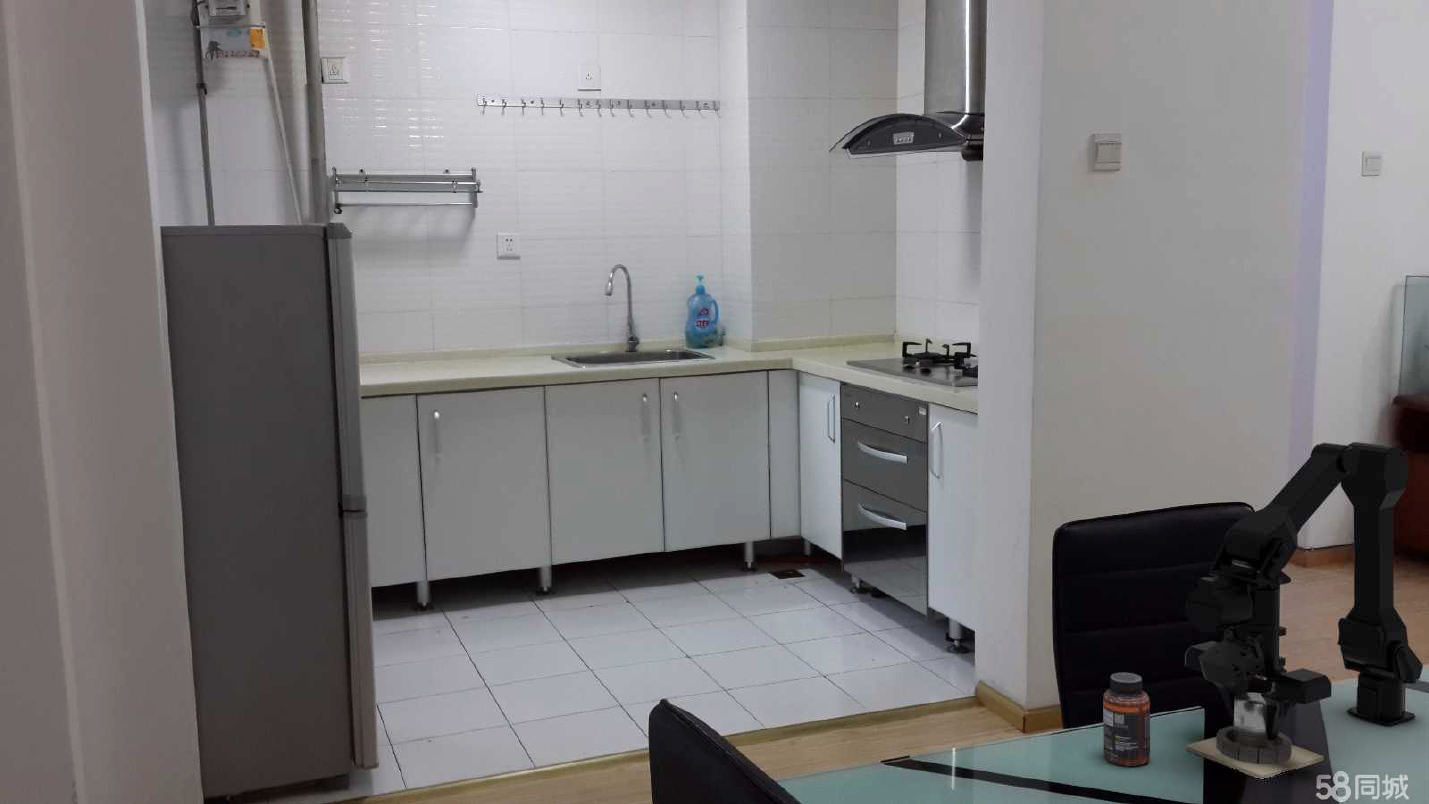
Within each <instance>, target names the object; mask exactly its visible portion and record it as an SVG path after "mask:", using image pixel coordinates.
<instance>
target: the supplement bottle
mask: <svg viewBox="0 0 1429 804" xmlns="http://www.w3.org/2000/svg"><path fill="white" fill-rule="evenodd" d="M1109 686H1110V688H1109V689H1107V690H1106V691H1105V692H1104V694H1103V699H1102V701H1103V702H1102V703H1103V704H1102V707H1103V708H1102V709H1103V710H1102V711H1103V712H1102V719H1103V721H1102V722H1103V725H1102V727H1103V729H1102V730H1103V755H1104V758H1105V759H1106V760H1108V761H1109V762H1110V763H1112V764H1116V765H1120V766H1125V767H1136V766H1142V765H1145V764H1147V763H1148V762H1149V760H1150V758H1151V709H1150V708H1151V701H1150V697H1149V695H1148V694H1147V692H1145V691H1144V690H1143V689H1142V688H1143V679H1142V676H1141V675H1139V674H1137V673H1132V672H1116V673H1112V674H1111V675H1110V684H1109Z"/></svg>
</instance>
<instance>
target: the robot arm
mask: <svg viewBox="0 0 1429 804" xmlns="http://www.w3.org/2000/svg"><path fill="white" fill-rule="evenodd" d="M1408 458H1409V457H1408V456H1407V454H1406V453H1405V452H1404V451H1403V450H1402V449H1401V448H1400V447H1398V446H1392V445H1385V444H1375V443H1367V442H1358V441H1353V442H1351V443H1349V444H1348V445H1346V444H1338V443H1330V442H1322V443H1321V442H1320V443H1318V444H1316V445H1314V446H1313V448H1312V450H1311V453H1310V457H1309V458H1308V459H1307V460H1306V461H1305V463H1303V464H1302V465H1301V467H1300V468H1299V469H1298V470H1297V472H1296V473H1295V474H1294V475H1293V476H1292V477H1291V479H1290V480H1289V481H1288V482H1287V483H1286V484H1285V485H1284V486H1283V487H1282V488H1281V489H1280V491H1279V492H1278V493H1277V494H1276V495H1275V497H1274V498H1273V499H1272V500H1271V501H1270V502H1269V503H1268V504H1267V505H1266V506H1264V507H1262V508H1260V509H1258V510H1254V511H1253V512H1249V513H1247V514H1245V515H1244V516H1243V517H1241V519H1239V520H1238V521H1237V522H1236V523H1234V524H1233V525H1232V526H1230V528H1229V529H1228V531H1227V533H1226V534H1225V536H1224V539H1223V541H1222V543H1221V546H1220V547H1219V550H1218V552H1217V553H1216V555H1215V558H1214V560H1213V561H1212V563H1211V565H1210V567H1209V570H1208V574H1209V575H1210V576H1212V577H1206V576H1205V577H1200V578H1199V579H1198V581H1197V582H1198V584H1197V586H1198V587H1196V588H1194V589H1192V590H1191V591H1190V592H1189V593H1188V595H1187V598H1186V600H1185V601H1184V610H1185V615H1186V617H1187V619H1188V621H1189V622H1190V624H1191V625H1192V626H1193V627H1194V628H1195V629H1196V630H1198V631H1199V632H1202V633H1211V632H1216V631H1220V630H1224V631H1223V632H1224V633H1223V634H1224V635H1223V640H1222V641H1220V642H1217V641H1213V640H1211V641H1207V642H1203V643H1198V644H1195V645H1191V646H1189V647H1188V649H1187V650H1186V652H1185V654H1184V666H1185V668H1188V669H1191V670H1194V671H1198V672H1202V674H1203V678H1204V680H1206V681H1207V682H1212V684H1213V685H1215V686H1216V687H1217V688H1218V691H1220V694H1221V697H1222V698H1223V701H1224V703H1225V707H1226V709H1227V712H1228V716H1229V718H1230V721H1231V723H1232V726H1233V727H1234V696H1235V695H1236V694H1239V693H1247V692H1248V688H1249V687H1248V686H1249V681H1251V680H1253V679H1257V680H1259V681H1262V682H1265V683H1266V682H1267V683H1268V684H1271V690H1270V691H1267V692H1265V693H1260V694H1261V696H1262V698H1263V699H1264V700H1265V702H1266V703H1267V737H1268V740H1270V741H1272V740H1275V739H1276V737H1277V736H1278V734H1279V732H1280V733H1281V730H1282V728H1283V726H1284V724H1285V723H1286V721H1287V719H1288V717H1289V715H1290V714H1291V712H1292V710H1293V709H1294V707H1296V705H1298V704H1299V705H1308V704H1311V703H1314V702H1317V701H1322V700H1324V699H1329V698H1332V682H1331V679H1329V677H1328V675H1326V674H1323V673H1320V672H1316V671H1313V670H1310V669H1307V668H1299V669H1298V668H1297V669H1295V670H1291V671H1287V672H1286V671H1283V670H1280V669H1279V668H1280V667H1285V666H1286V662H1287V661H1286V660H1287V659H1286V657H1284V656H1280V637H1284V636H1287V627H1286V626H1281V625H1280V622H1281V618H1280V617H1281V586H1282V585H1287V584H1291V582H1292V578H1291V576H1289V575H1288V574H1286V573H1285V572H1284V571H1283V569H1284V568H1285V567H1287V565H1288V563H1289V562H1290V561H1291V559H1292V557H1293V555H1294V554H1295V552H1296V551H1297V549H1298V544H1299V542H1298V541H1299V540H1298V536H1299V535H1298V534H1299V532H1300V531H1301V529H1302V528H1303V527H1304V526H1305V524H1306V523H1307V522H1308V521H1309V519H1310V518H1311V517H1312V516H1313V515H1314V513H1316V511H1317V510H1318V509H1319V508H1320V507H1321V505H1322V504H1323V503H1324V502H1325V501H1326V500H1327V498H1328V497H1329V496H1330V495H1331V494H1332V492H1333V491H1334V490H1335V489H1336V488H1337V487H1339V484H1340V487H1341V489H1342V491H1343V493H1344V494H1345V496H1346V497H1347V499H1348V500H1349V502H1350V504H1351V505H1352V508H1353V511H1352V512H1353V515H1352V517H1353V601H1354V602H1353V606H1352V608H1350V609H1351V610H1349V612H1348V613H1347V614H1346V616H1345V617H1340V618H1339V619H1338V622H1337V625H1338V628H1337V629H1338V639H1337V643H1336V644H1337V646H1339V650H1340V654H1341V657H1342V660H1343V664H1344V669H1345V670H1348V671H1349V670H1351V671H1353V672H1357V673H1358V674H1357V686H1356V706H1353V707H1350V708H1348V709H1347V710H1346V713H1347V714H1349V715H1353V716H1355V717H1359V718H1362V719H1365V720H1368V721H1371V722H1373V723H1377V724H1380V725H1382V726H1383V725H1384V726H1385V727H1386V726H1389V727H1390V726H1393V725H1397V724H1399V723H1402V722H1406V721H1409V720H1411V719H1416V714H1415V713H1413V712H1411V711H1410V712H1409V711H1406V708H1405V707H1406V687H1407V685H1406V684H1412V685H1414V684H1416V683H1417V680H1420V678H1421V674H1422V671H1423V667H1424V665H1423V664H1424V663H1422V661H1421V660H1420V659H1419V657H1418V656H1417V655H1416V654H1415V653H1414V651H1413V649H1412V648H1411V647H1410V646H1409V638H1408V629H1407V626H1406V624H1405V622H1404V621H1403V619H1402V618H1401V616H1400V614H1399V613H1398V611H1397V610H1396V608H1395V603H1394V602H1395V601H1394V591H1395V590H1394V589H1395V586H1394V583H1395V582H1394V578H1395V577H1394V575H1395V574H1394V570H1395V569H1394V507H1395V505H1396V504H1397V503H1398V501H1399V499H1400V498H1401V497H1402V495H1404V492H1405V491H1406V490H1407V486H1408V485H1407V483H1408V475H1409V471H1410V461H1409V459H1408ZM1232 564H1233V565H1235V566H1233V565H1232ZM1239 566H1240V567H1239ZM1247 568H1248V569H1247ZM1251 569H1252V570H1251ZM1255 570H1256V571H1255Z"/></svg>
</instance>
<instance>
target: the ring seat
mask: <svg viewBox="0 0 1429 804" xmlns="http://www.w3.org/2000/svg"><path fill="white" fill-rule="evenodd" d="M1185 751H1188V752H1191V753H1193V754H1195V755H1198V756H1200V757H1203V758H1205V759H1207V760H1211V762H1212V761H1213V762H1215V763H1217V762H1218V763H1217V764H1220V763H1221V764H1220V765H1222V764H1223V766H1225V765H1226V766H1225V767H1227V766H1228V768H1230V769H1232V768H1233V770H1235V769H1237V770H1239V771H1238V772H1241V773H1242V772H1243V773H1242V774H1245V775H1246V776H1247V775H1248V776H1250V777H1252V776H1253V778H1255V779H1257V778H1260V779H1264V778H1268V779H1270V778H1269V777H1271V778H1274V777H1276V776H1275V775H1277V774H1280V773H1281V772H1285V771H1289V770H1293V769H1296V770H1298V769H1302V768H1304V767H1308V766H1311V765H1313V764H1318V763H1320V762H1323V761H1324V756H1323V755H1321V754H1318V753H1316V752H1313V751H1310V750H1309V749H1305V748H1302V747H1299V746H1297V745H1294V744H1293V741H1292V739H1291V738H1290V737H1288V736H1287V735H1286V734H1285V733H1283V732H1281V731H1280V732H1279V734H1278V736H1277V737H1276V739H1275V745H1274V747H1272V748H1255V747H1249V746H1242V745H1240V744H1237V743H1235V742H1234V727H1233V725H1229V726H1226V727H1223V728H1220V729H1219V730H1218V731H1217V733H1216V736H1215V737H1211V738H1208V739H1203V740H1199V741H1196V742H1193V743H1191V744H1187V745H1185ZM1237 770H1236V771H1237ZM1293 771H1294V770H1293ZM1280 775H1281V774H1280ZM1273 776H1274V777H1273ZM1277 776H1278V775H1277ZM1260 779H1259V780H1260Z"/></svg>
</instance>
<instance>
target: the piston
mask: <svg viewBox="0 0 1429 804" xmlns="http://www.w3.org/2000/svg"><path fill="white" fill-rule="evenodd" d="M1261 694H1262V693H1259V692H1258V693H1257V692H1248V691H1247V693H1239V694H1236V695H1235V696H1234V742H1235V743H1237V744H1240V745H1242V746H1249V747H1255V748H1272V747H1274V745H1275V740H1272V741H1270V740H1268V737H1267V703H1266V702H1265V700H1264V699H1263V698H1262V696H1261Z"/></svg>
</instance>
